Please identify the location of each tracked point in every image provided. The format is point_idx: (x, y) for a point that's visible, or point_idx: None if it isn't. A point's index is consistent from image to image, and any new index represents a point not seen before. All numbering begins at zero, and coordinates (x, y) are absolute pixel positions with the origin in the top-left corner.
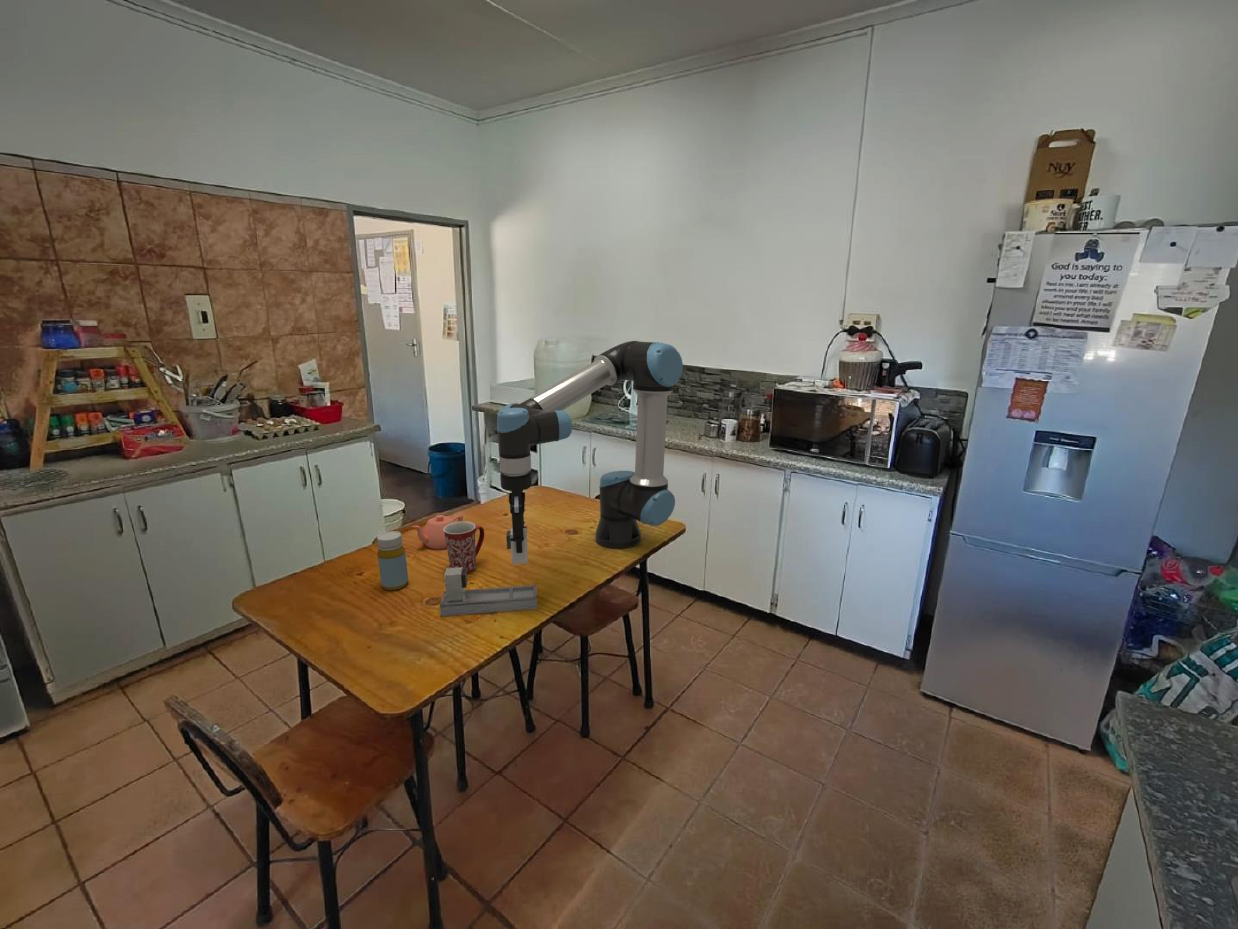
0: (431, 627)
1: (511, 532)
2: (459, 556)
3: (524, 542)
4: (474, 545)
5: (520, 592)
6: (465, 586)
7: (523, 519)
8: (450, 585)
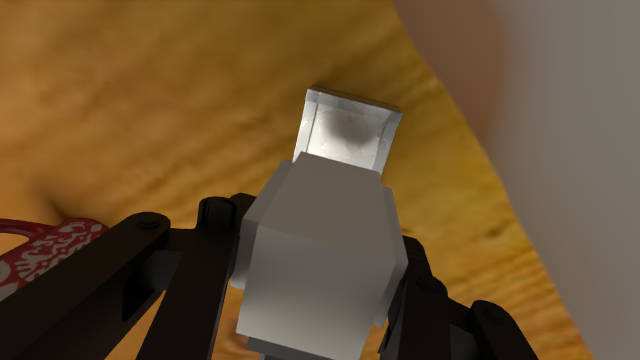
0: (365, 355)
1: (313, 347)
2: None
3: (402, 248)
4: (32, 265)
5: (326, 150)
6: None
7: (200, 284)
8: None
